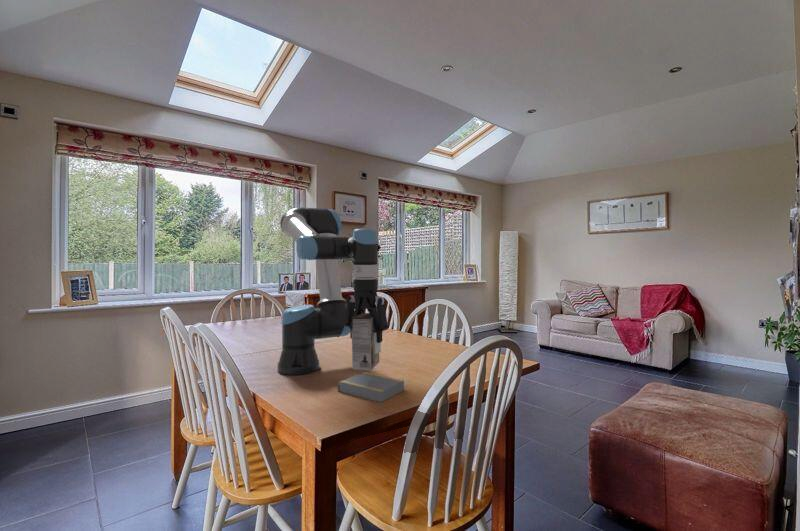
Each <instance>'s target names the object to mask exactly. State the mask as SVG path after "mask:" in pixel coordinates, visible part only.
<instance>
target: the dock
mask: <svg viewBox="0 0 800 531" xmlns="http://www.w3.org/2000/svg"><path fill="white" fill-rule="evenodd" d="M337 391H338V392H341V393H345V394H348V395H352V396H356V397H358V398H363V399H367V400H371V401H375V402H379V403H383V402H385V401H386V400H389V399H390V398H393V397H394V396H396V395H398V394H399V393H401V392H403V391H405V381H404V380H403V379H399V378H394V377H389V376H387V375H386V376H385V375H381V374H376V373H371V372H366V371H363V372H361V373H359V374H355V375H353V376H351V377H349V378H345V379H344V380H341V381H339V382H337Z"/></svg>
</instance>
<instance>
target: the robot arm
mask: <svg viewBox="0 0 800 531" xmlns="http://www.w3.org/2000/svg"><path fill="white" fill-rule="evenodd" d="M341 220H342V219H341V216H340V214H339V212H338V211H337V210H335V209H331V208H326V207H325V208H313V207H300V206H299V207H294V208H290V209H289V210H287V211H286V212H285V213H284V214H283V215H282V216H281V219H280V221H279V222H280V224H279V225H280V228H281V231H282V232H283V234H284V235H286V236H287V237H290V238H292V240H293V241H294V242H295V243H296V253H297V257H298V258H299V259H300V260H308V261H315V265H316V273H317V275H316V276H317V282H318V292H319V301H318V302H317V304H316V308H315V306H314V304H300V305H294V306H291V307H288V308H286V309H285V310H283V312H282V314H281V315H282V317H281V336H282V337H281V339H282V340H281V341H282V343H281V344H282V345H281V349H282V350H281V352H280V356H279V359H278V362H277V372H278V373H280V374H283V375H291V376H292V375H294V376H296V375H305V374H309V373H311V374H312V373H313V372H316V371H318V370H319V369H320V359H319V358H318V353H317V351H316V348H315V340H321V339H328V338H329V339H330V338H340V337H346V336H348V335H349V334H350V339H351V340H352V317H354V316H356V315H359V314H362V313H363V311H364V310H367V313H370V316H371V317H373V325H374V328H375V331H374V332H373V354H377V353H379V354H380V353H381V350H382V349H381V346H382V345H381V344H382V343H383V332H384V331H388V330H389V324H388V318H387V311H386V301H387V300H386V297H379V296H378V293H377V292H378V288H379V283H378V282H379V280H378V279H377V278H378V276H379V274H378V272H379V271H378V270H379V269H378V268H379V267H378V266H379V265H378V248H379V247H378V246H379V245H378V243H379V240H378V231H377V230H376V229H374V228H355V229H354V230H353V232H352V234H353V235H352V236H340V235H341V233H342V221H341ZM338 260H350V261H351V260H352V261H353V278H355V279H354V280H353V291H354V295H353V294H352V295H347V296H346V299H345V298H343V295H342V287H341V286H342V285H341V280H340V279H341V278H340V272H339V264H338Z"/></svg>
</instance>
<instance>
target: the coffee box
mask: <svg viewBox="0 0 800 531" xmlns="http://www.w3.org/2000/svg"><path fill="white" fill-rule="evenodd" d="M374 331H375V328H374V325H373V317H371V316H370V313H369V312H362V314H359V315H356V316H354V317H352V339H351V352H352V353H351V354H352V355H351V358H352V359H351V360H352V362H351V363H352V364H351V366H352V370H358V371H359V370H360V371H364V370H365V371H372V370H373V369H375V368H376V366H377V365H379V363H380V352H379V353H377V354H373V332H374Z"/></svg>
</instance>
